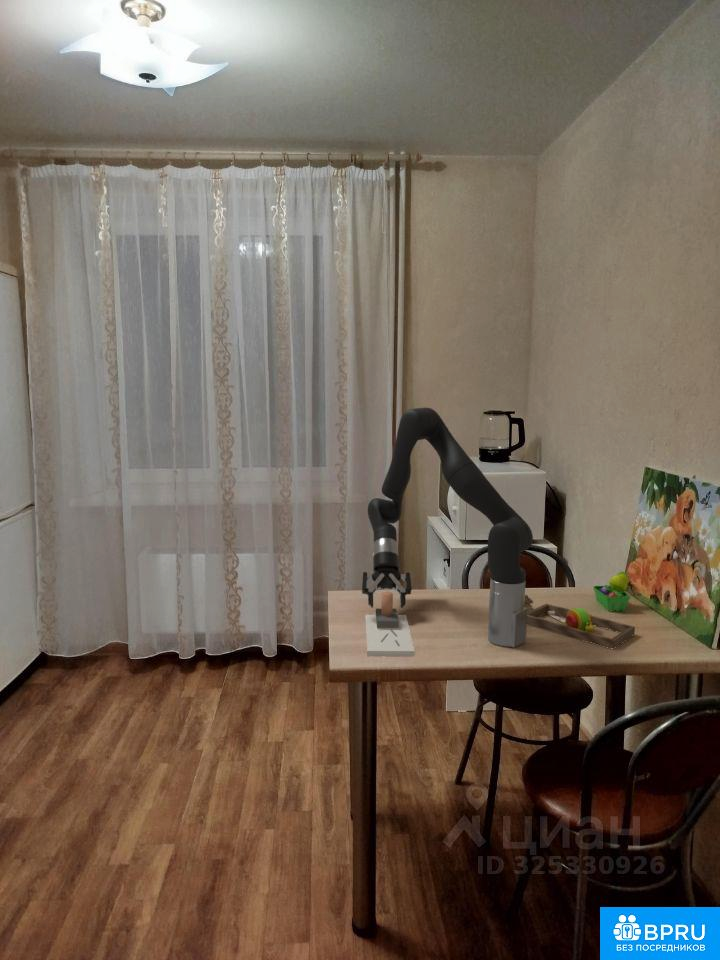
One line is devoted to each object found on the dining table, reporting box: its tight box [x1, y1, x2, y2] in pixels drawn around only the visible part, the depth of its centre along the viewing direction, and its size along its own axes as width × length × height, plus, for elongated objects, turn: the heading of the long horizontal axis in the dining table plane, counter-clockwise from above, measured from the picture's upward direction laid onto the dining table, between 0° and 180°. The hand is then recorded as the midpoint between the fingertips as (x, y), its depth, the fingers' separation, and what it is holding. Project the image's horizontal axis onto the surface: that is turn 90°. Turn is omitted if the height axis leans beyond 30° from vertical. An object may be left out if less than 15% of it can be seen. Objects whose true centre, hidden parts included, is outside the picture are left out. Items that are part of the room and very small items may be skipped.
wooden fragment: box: [524, 594, 535, 612], centre depth 209 cm, size 26×11×1 cm, turn 172°
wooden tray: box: [526, 603, 636, 650], centre depth 186 cm, size 27×14×2 cm, turn 46°
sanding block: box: [375, 591, 399, 629], centre depth 185 cm, size 10×6×8 cm, turn 1°
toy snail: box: [546, 607, 595, 633], centre depth 188 cm, size 6×20×7 cm, turn 19°
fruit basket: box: [592, 571, 632, 612], centre depth 204 cm, size 11×9×11 cm
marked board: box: [365, 614, 415, 658], centre depth 179 cm, size 26×12×2 cm, turn 1°
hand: (387, 606), depth 185 cm, fingers open, 8 cm apart
